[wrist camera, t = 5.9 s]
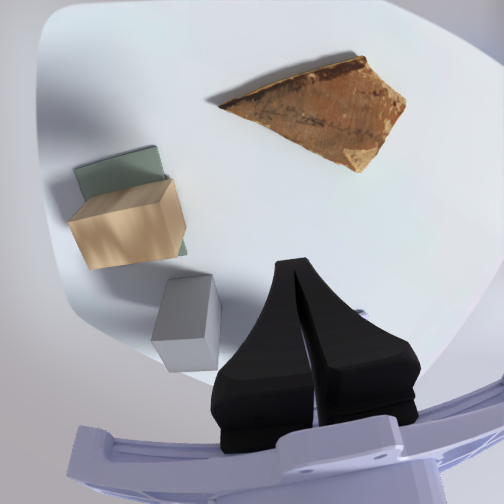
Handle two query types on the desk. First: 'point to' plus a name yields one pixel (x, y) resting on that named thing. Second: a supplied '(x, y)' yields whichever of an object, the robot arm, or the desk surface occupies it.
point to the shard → (328, 111)
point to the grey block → (189, 325)
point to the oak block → (130, 226)
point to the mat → (122, 175)
